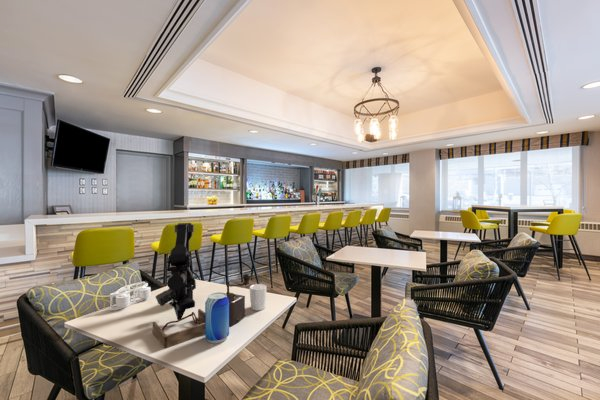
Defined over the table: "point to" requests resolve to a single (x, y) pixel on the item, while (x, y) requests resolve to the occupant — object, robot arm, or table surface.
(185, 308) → the robot arm
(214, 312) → the beer can
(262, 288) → the white cup
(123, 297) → the toilet paper holder
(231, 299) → the coffee grinder
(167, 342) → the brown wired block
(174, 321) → the glasses
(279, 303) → the table surface
